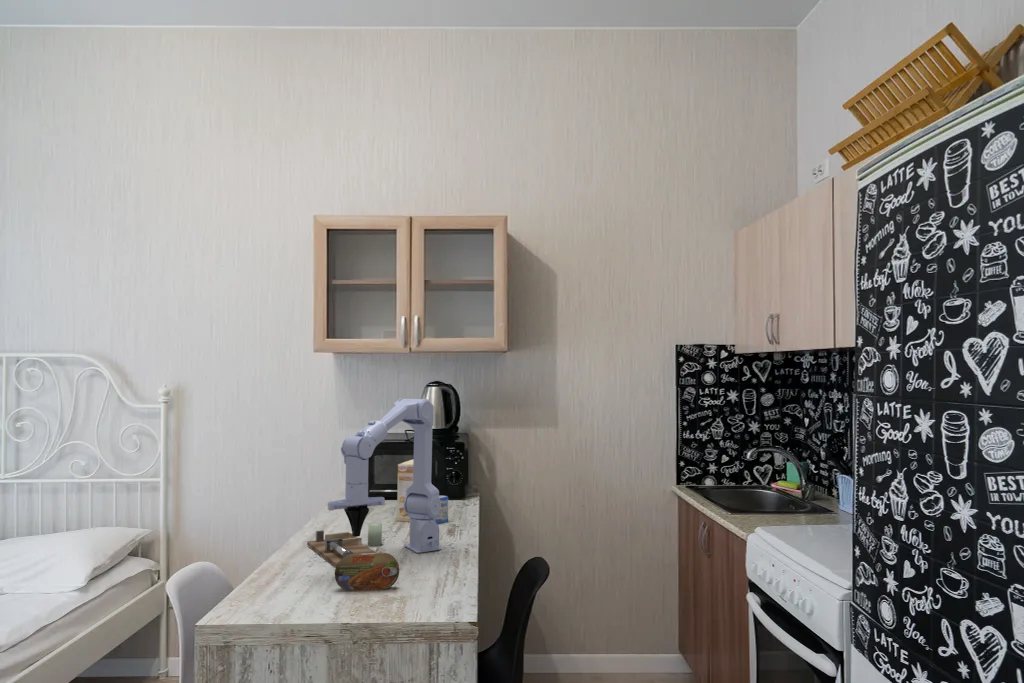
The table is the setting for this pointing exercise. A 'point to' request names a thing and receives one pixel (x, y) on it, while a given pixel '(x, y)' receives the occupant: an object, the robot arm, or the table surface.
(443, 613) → the table surface
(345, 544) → the walnut base with seat
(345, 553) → the steel shaft
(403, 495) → the coffeecake box
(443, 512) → the medicine box
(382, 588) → the tin
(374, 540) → the cylinder
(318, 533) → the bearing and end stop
